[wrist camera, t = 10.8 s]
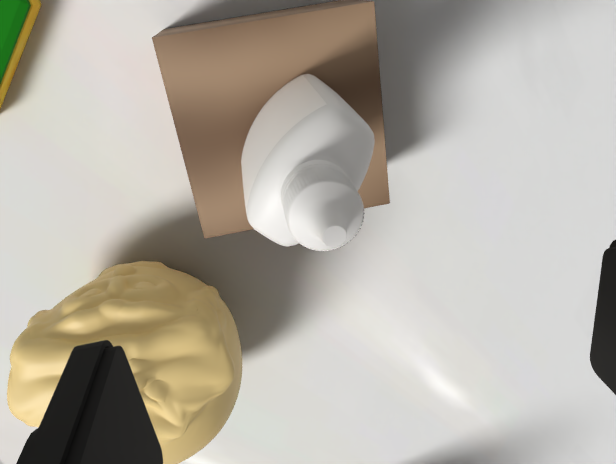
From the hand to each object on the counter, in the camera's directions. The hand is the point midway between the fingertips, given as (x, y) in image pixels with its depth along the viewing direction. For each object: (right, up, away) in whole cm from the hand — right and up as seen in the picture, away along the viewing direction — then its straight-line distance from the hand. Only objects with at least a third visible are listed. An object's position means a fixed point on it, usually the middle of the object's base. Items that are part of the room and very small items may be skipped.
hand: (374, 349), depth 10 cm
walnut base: (-3, +9, +20) cm, 22 cm away
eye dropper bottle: (-2, +7, +15) cm, 17 cm away
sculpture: (-12, -3, +25) cm, 27 cm away
